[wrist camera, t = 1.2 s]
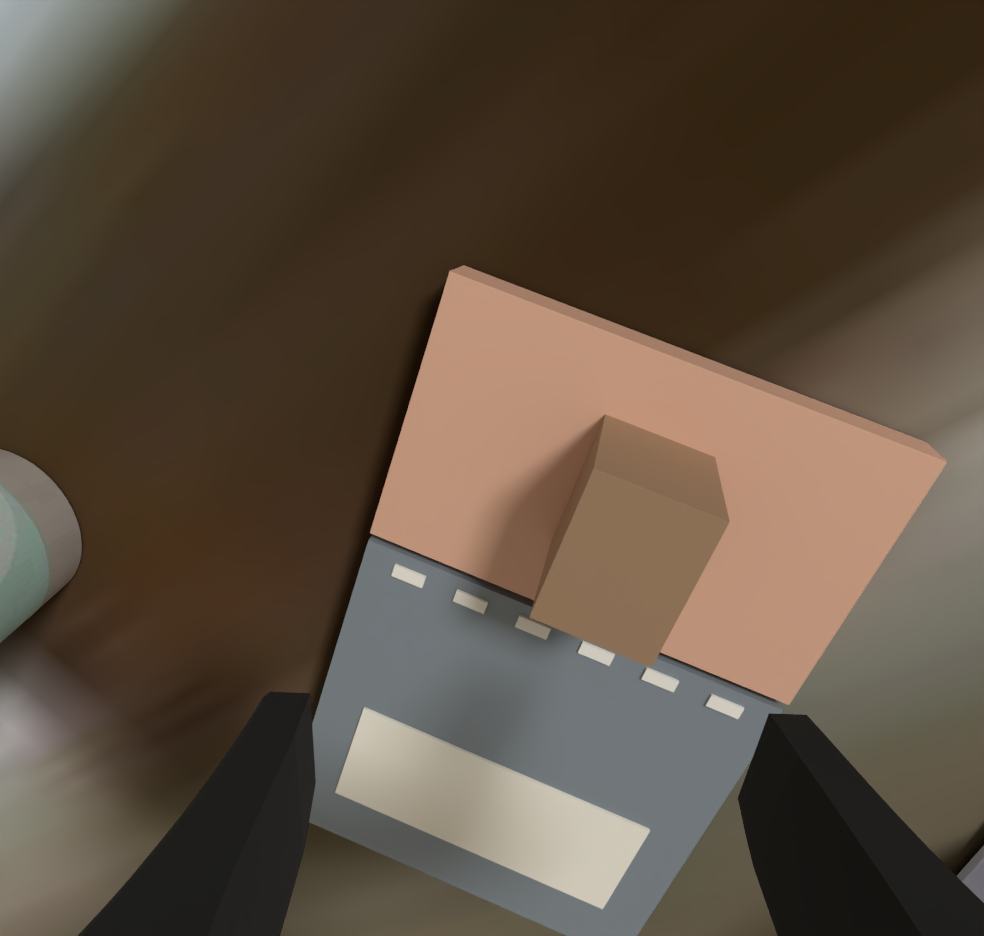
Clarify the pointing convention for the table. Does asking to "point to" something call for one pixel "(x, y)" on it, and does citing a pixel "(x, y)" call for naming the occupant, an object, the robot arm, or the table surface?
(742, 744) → the ticket board
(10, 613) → the coffee cup
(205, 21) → the table surface
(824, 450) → the pink panel with block
